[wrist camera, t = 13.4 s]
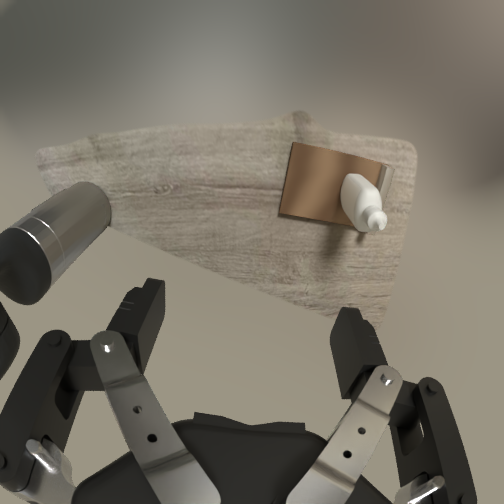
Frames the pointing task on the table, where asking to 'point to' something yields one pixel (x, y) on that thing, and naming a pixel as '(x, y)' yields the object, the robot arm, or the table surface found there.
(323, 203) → the walnut shelf board
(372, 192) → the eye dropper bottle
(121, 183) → the table surface
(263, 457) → the robot arm
